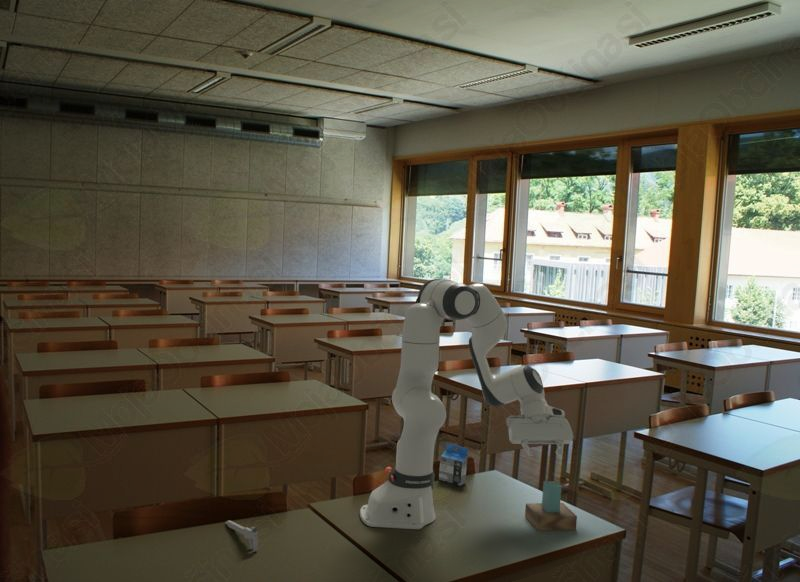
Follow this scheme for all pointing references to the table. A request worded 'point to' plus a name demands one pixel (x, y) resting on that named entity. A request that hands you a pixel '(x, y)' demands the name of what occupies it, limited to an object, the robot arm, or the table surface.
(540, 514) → the walnut block
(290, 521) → the table surface
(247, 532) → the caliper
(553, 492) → the teal column
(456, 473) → the label tape box
